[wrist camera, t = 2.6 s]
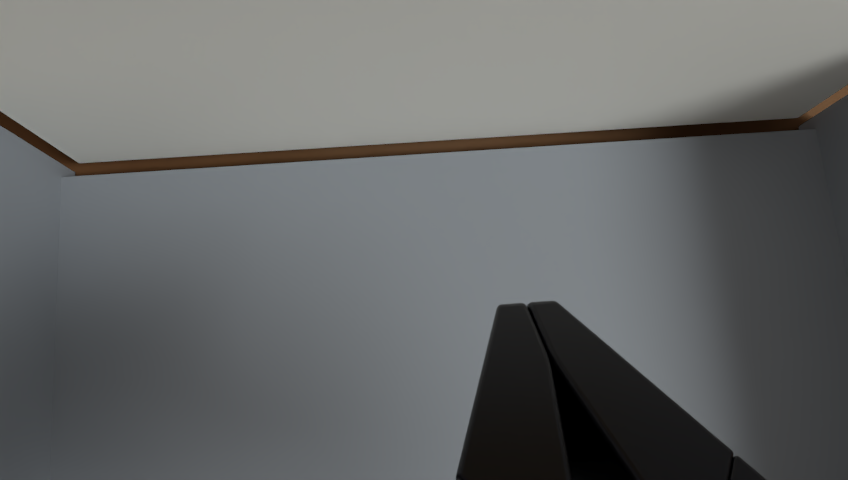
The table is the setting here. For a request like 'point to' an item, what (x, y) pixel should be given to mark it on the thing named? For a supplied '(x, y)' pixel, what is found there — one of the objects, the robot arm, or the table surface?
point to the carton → (414, 301)
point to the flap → (401, 69)
